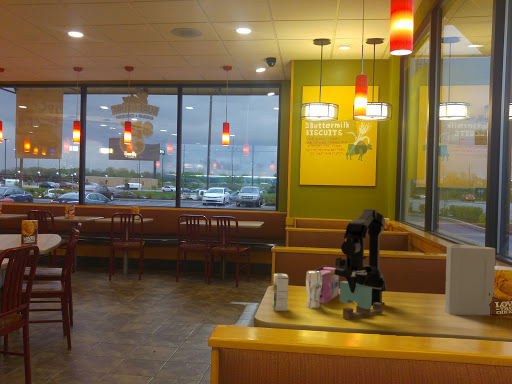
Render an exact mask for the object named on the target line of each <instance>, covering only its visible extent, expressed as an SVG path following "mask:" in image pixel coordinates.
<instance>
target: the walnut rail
mask: <svg viewBox="0 0 512 384" xmlns="http://www.w3.org/2000/svg"><path fill="white" fill-rule="evenodd" d="M383 305H384V304H381V303H378V302H376V303H373V305H372V308H369V309H364V308H361V307H358V306H357V305H356V306H355V311H354V309H353V308H352V307H347V306H346V307H342V318H343V319H344V320H347V321H351V320H356V319H361V318H366V317H373V316H376V315H382V314H383V307H384V306H383Z"/></svg>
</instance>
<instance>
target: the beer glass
mask: <svg viewBox="0 0 512 384" xmlns="http://www.w3.org/2000/svg"><path fill="white" fill-rule="evenodd" d="M305 275H306V276H305V288H306V296H307V298H306V299H307V301H306V302H305V303H306V304H305V307H307V308H309V309H319V308H321V303H320V293H321V288H322V272H321V271H314V270H307V271H306V274H305Z"/></svg>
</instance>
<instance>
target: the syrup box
mask: <svg viewBox="0 0 512 384" xmlns="http://www.w3.org/2000/svg"><path fill="white" fill-rule="evenodd" d="M272 282H273V284H272V285H273V286H272V303H271V304H272V307H271V308H272V310H273V312H287V311H288V296H289V290H288V289H289V275H288V274H287V273H273V281H272Z"/></svg>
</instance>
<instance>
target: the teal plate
mask: <svg viewBox="0 0 512 384" xmlns="http://www.w3.org/2000/svg"><path fill="white" fill-rule="evenodd" d="M339 302H341V303H344V304H353V303H356V306H358V307H361V308H364V309H369V308H370V309H372V304H371V303H372V287H368V286H364V285H360V284H356V286H355V290H354V293H351V291H350V287H349V284H348V281H346V280H343V281H339Z"/></svg>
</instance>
